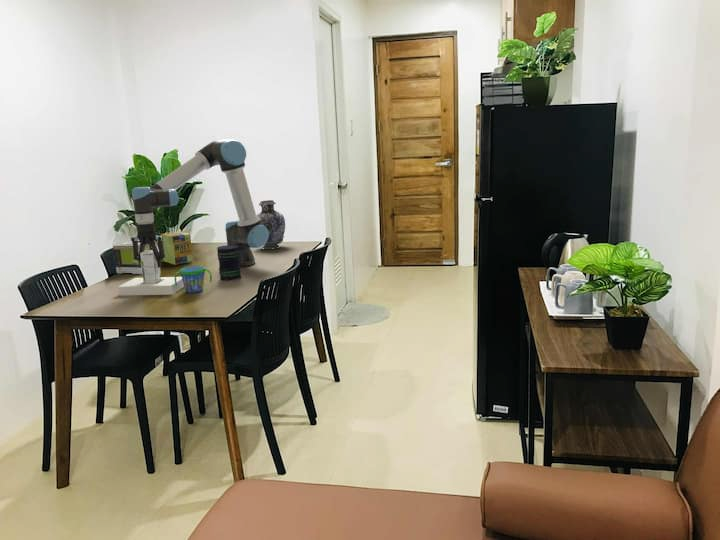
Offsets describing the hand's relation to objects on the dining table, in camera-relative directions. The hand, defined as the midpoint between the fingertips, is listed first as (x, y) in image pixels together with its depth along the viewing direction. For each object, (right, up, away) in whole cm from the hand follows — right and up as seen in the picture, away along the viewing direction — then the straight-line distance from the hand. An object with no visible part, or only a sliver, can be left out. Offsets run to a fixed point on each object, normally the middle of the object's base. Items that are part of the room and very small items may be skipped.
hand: (151, 274), depth 264 cm
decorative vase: (+40, +15, +89) cm, 98 cm away
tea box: (-23, +1, +41) cm, 47 cm away
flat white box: (0, -7, +2) cm, 7 cm away
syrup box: (0, -4, +1) cm, 4 cm away
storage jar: (+31, -2, +18) cm, 36 cm away
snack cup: (+20, -7, -3) cm, 22 cm away
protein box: (-7, +6, +62) cm, 63 cm away
